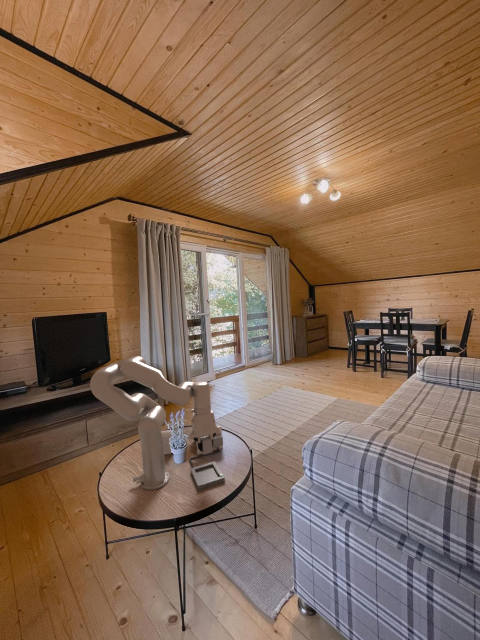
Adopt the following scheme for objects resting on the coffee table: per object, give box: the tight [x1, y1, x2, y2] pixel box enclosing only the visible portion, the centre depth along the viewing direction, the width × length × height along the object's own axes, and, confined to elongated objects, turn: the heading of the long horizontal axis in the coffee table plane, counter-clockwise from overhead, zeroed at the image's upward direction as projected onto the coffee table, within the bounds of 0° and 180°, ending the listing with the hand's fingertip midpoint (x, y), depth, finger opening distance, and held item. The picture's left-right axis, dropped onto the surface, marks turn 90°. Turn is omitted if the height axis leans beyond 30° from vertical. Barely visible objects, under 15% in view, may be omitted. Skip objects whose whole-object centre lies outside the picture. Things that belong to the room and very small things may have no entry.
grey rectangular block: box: [201, 435, 212, 455], centre depth 123 cm, size 4×7×6 cm, turn 24°
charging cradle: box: [190, 461, 226, 491], centre depth 124 cm, size 12×14×2 cm
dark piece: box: [188, 447, 220, 468], centre depth 137 cm, size 16×11×4 cm
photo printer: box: [161, 430, 172, 456], centre depth 146 cm, size 10×4×12 cm, turn 98°
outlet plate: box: [195, 425, 224, 456], centre depth 144 cm, size 14×6×12 cm, turn 114°
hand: (205, 448), depth 123 cm, fingers closed on grey rectangular block, 4 cm apart
